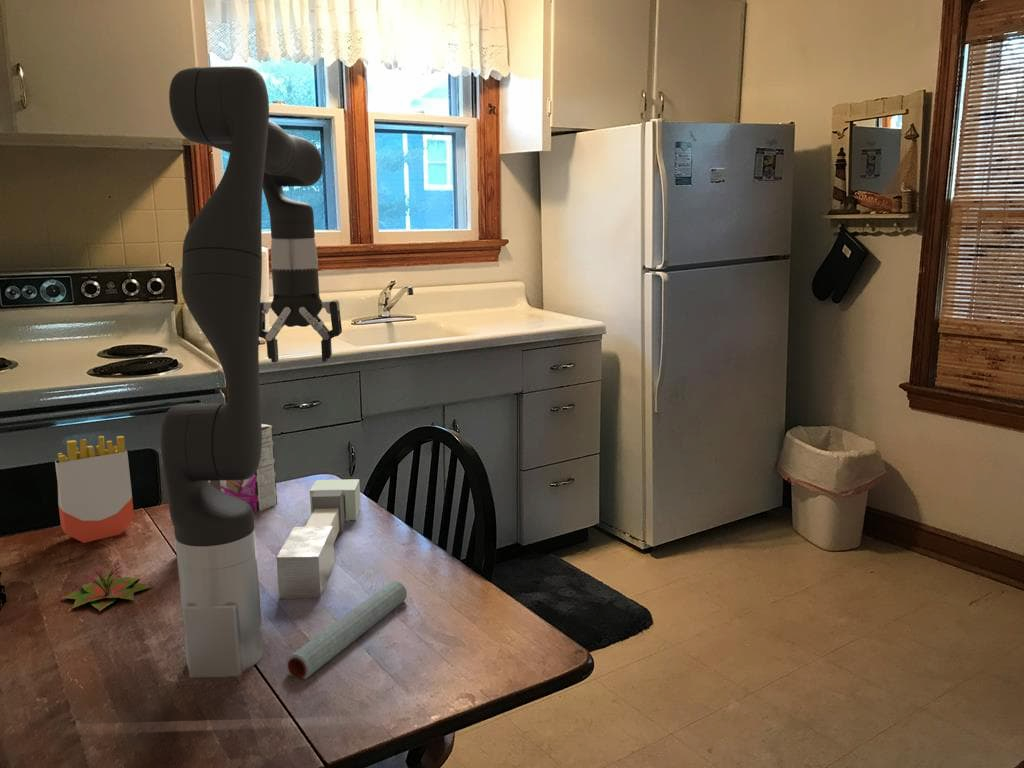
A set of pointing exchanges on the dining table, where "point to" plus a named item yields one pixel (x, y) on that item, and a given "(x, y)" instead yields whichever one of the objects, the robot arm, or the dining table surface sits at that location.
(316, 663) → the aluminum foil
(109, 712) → the dining table surface
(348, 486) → the socket block
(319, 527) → the cream rectangular block
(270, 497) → the candy bar box
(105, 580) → the lily flower
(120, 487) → the french fries container
